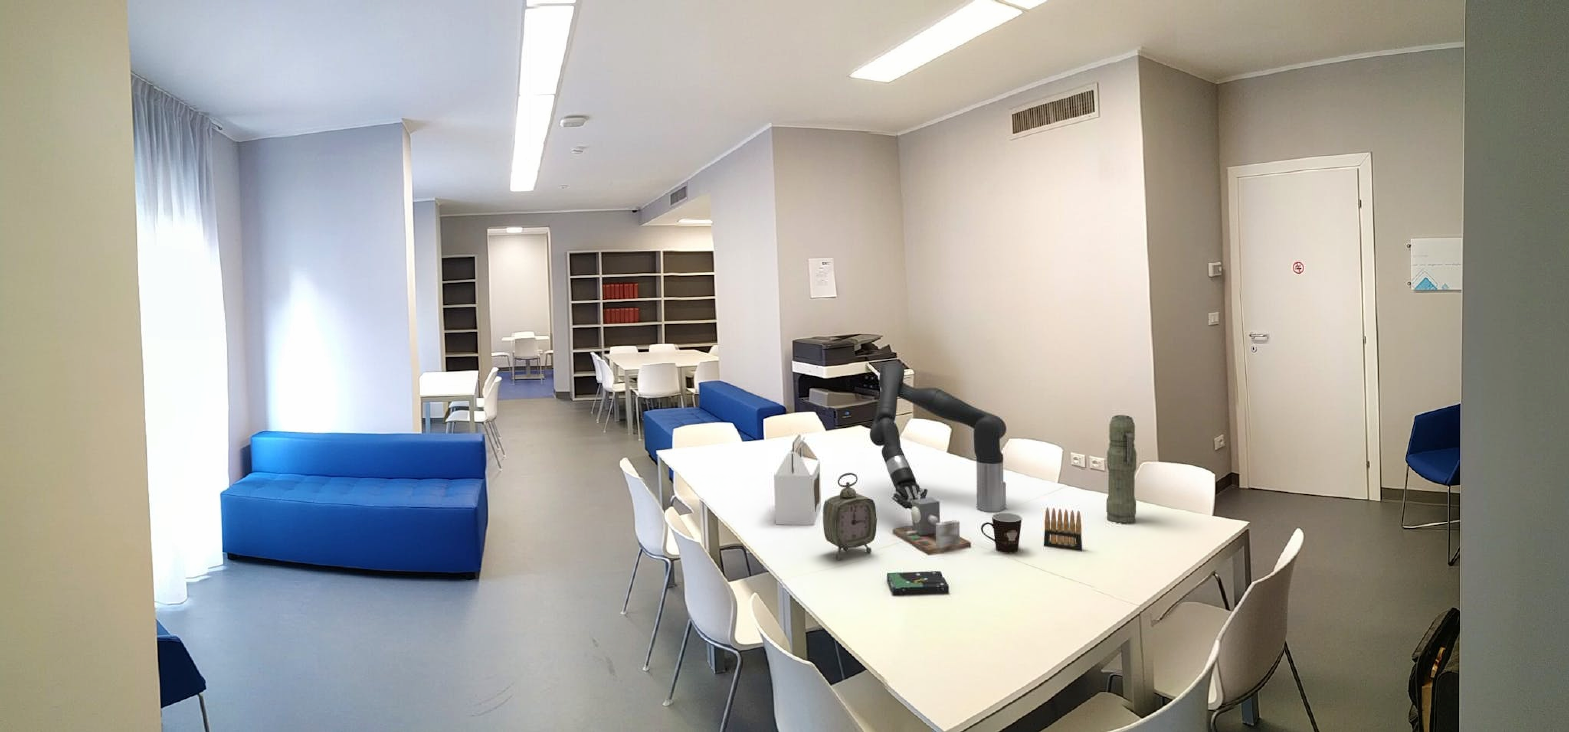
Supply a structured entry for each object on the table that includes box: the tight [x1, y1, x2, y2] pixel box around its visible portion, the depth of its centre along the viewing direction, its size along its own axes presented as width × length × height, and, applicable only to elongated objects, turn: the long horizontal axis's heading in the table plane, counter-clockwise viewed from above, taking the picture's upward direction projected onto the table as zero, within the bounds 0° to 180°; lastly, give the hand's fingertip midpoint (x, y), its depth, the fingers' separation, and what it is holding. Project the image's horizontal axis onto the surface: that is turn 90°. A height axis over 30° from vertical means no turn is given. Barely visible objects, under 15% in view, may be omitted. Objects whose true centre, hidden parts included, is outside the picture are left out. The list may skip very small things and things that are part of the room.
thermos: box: [1105, 414, 1138, 525], centre depth 239 cm, size 9×12×35 cm
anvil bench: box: [892, 519, 972, 556], centre depth 228 cm, size 15×22×8 cm
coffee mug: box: [980, 512, 1023, 554], centre depth 218 cm, size 12×9×10 cm
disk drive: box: [886, 570, 950, 597], centre depth 192 cm, size 10×3×15 cm
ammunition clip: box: [1043, 507, 1083, 552], centre depth 217 cm, size 11×2×12 cm, turn 61°
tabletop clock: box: [822, 472, 878, 561], centre depth 217 cm, size 14×9×25 cm, turn 117°
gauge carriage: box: [907, 497, 941, 535], centre depth 228 cm, size 10×8×10 cm
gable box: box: [773, 434, 822, 526], centre depth 257 cm, size 22×13×28 cm, turn 170°
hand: (919, 517), depth 233 cm, fingers closed
